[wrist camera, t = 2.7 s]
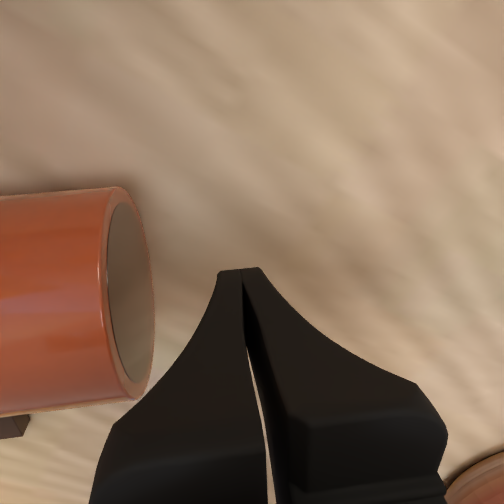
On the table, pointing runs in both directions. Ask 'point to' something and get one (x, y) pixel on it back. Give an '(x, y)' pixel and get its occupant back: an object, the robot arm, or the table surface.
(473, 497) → the donut
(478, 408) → the table surface
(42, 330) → the cup
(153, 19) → the table surface
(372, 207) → the table surface
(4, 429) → the board
